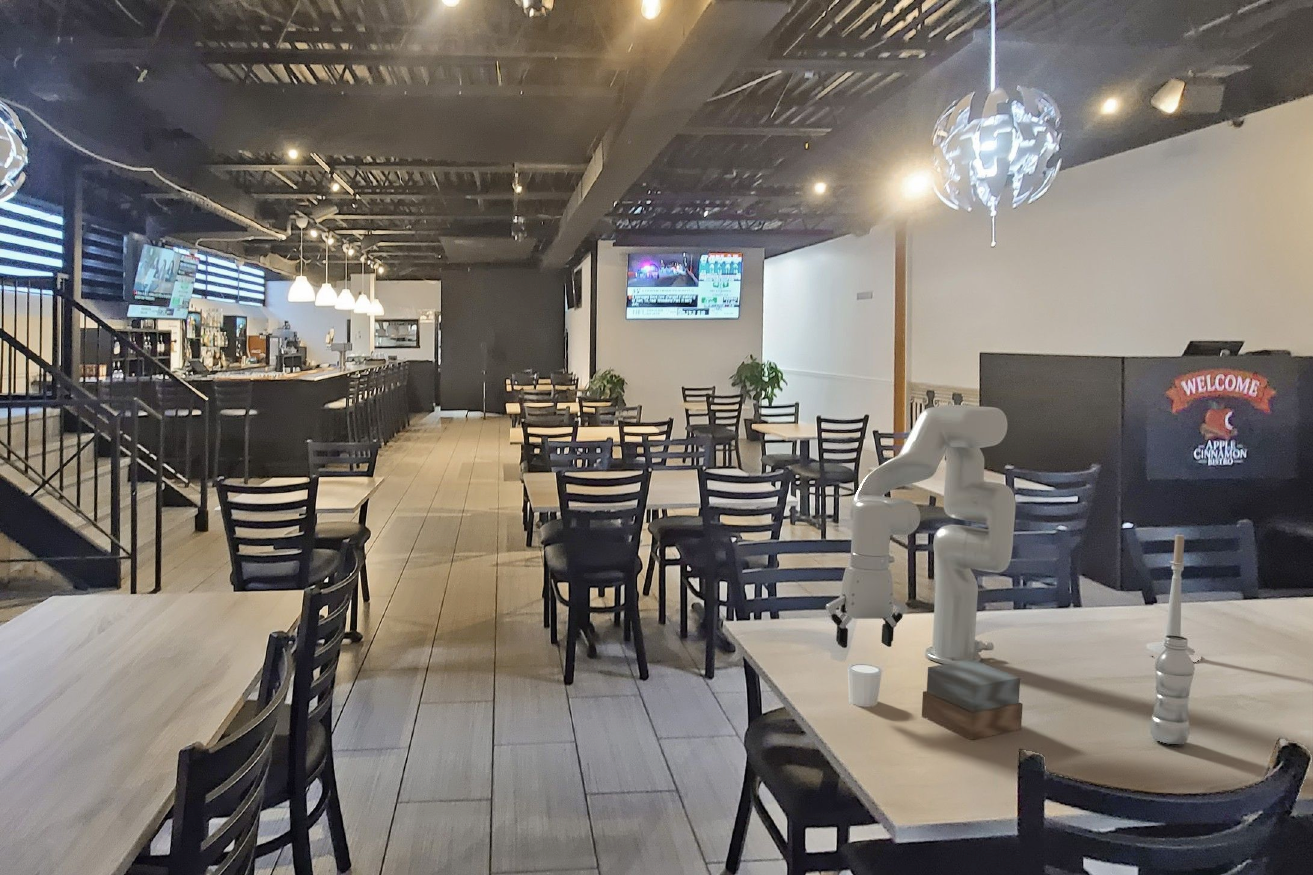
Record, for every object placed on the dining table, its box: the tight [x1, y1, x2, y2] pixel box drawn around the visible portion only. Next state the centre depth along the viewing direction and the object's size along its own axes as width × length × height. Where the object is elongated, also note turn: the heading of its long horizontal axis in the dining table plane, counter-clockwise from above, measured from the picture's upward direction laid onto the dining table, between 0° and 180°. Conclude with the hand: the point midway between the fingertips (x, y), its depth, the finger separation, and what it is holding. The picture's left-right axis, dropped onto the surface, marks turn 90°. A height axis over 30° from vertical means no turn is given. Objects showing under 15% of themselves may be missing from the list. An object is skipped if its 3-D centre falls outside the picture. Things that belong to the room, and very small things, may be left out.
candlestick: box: [1145, 534, 1196, 655], centre depth 237 cm, size 13×13×30 cm
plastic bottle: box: [1149, 635, 1196, 745], centre depth 181 cm, size 6×7×20 cm
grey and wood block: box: [921, 660, 1024, 741], centre depth 189 cm, size 13×13×10 cm
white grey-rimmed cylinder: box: [847, 663, 883, 708], centre depth 199 cm, size 7×7×7 cm
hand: (864, 645), depth 198 cm, fingers open, 9 cm apart
